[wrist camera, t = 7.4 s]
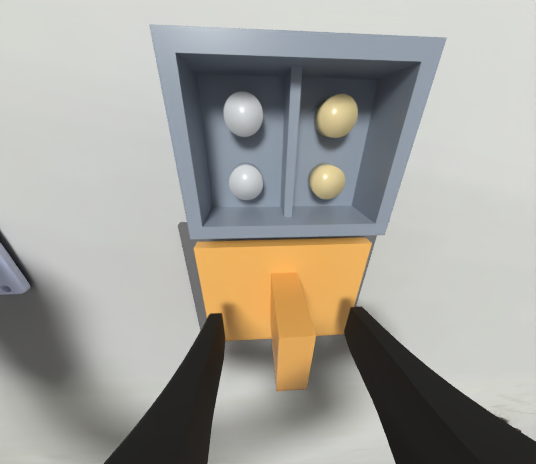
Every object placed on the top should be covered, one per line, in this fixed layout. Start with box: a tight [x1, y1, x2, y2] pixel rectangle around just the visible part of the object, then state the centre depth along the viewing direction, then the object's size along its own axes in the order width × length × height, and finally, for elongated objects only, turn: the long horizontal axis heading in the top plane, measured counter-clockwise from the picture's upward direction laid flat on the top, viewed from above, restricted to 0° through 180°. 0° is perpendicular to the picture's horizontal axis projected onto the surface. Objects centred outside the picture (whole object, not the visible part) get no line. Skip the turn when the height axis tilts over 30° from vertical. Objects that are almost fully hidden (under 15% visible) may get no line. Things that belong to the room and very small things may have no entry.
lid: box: [194, 237, 372, 391], centre depth 11 cm, size 10×8×6 cm
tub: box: [149, 24, 446, 239], centre depth 9 cm, size 9×7×3 cm
